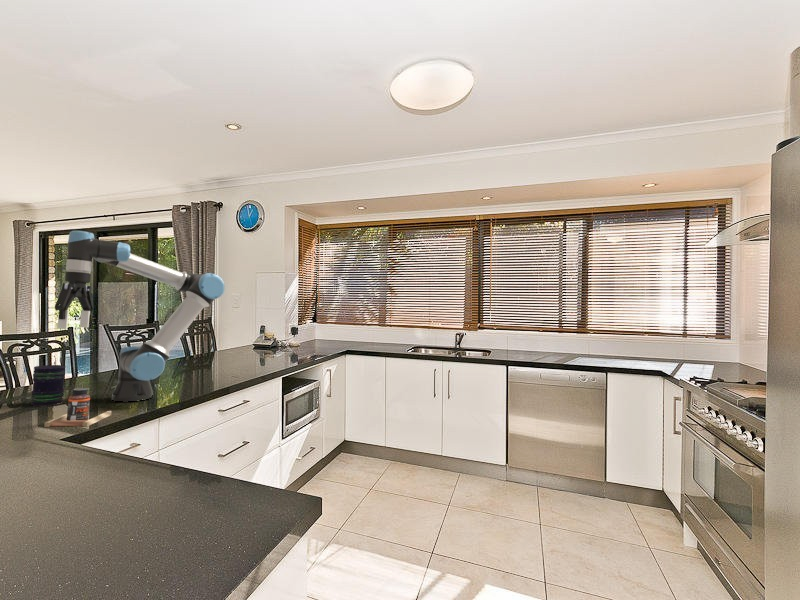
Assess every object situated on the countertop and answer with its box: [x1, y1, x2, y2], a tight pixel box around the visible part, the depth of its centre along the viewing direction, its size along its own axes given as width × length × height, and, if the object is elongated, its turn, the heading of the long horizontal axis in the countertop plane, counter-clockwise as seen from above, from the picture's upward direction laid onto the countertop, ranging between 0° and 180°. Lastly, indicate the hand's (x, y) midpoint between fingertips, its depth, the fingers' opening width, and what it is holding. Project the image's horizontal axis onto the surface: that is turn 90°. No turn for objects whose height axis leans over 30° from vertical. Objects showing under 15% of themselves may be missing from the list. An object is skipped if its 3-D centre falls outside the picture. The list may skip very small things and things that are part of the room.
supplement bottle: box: [66, 387, 91, 420], centre depth 139 cm, size 6×6×11 cm
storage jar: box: [30, 364, 66, 407], centre depth 161 cm, size 10×10×15 cm
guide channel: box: [43, 410, 112, 428], centre depth 140 cm, size 16×12×1 cm
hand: (73, 328), depth 150 cm, fingers open, 13 cm apart
